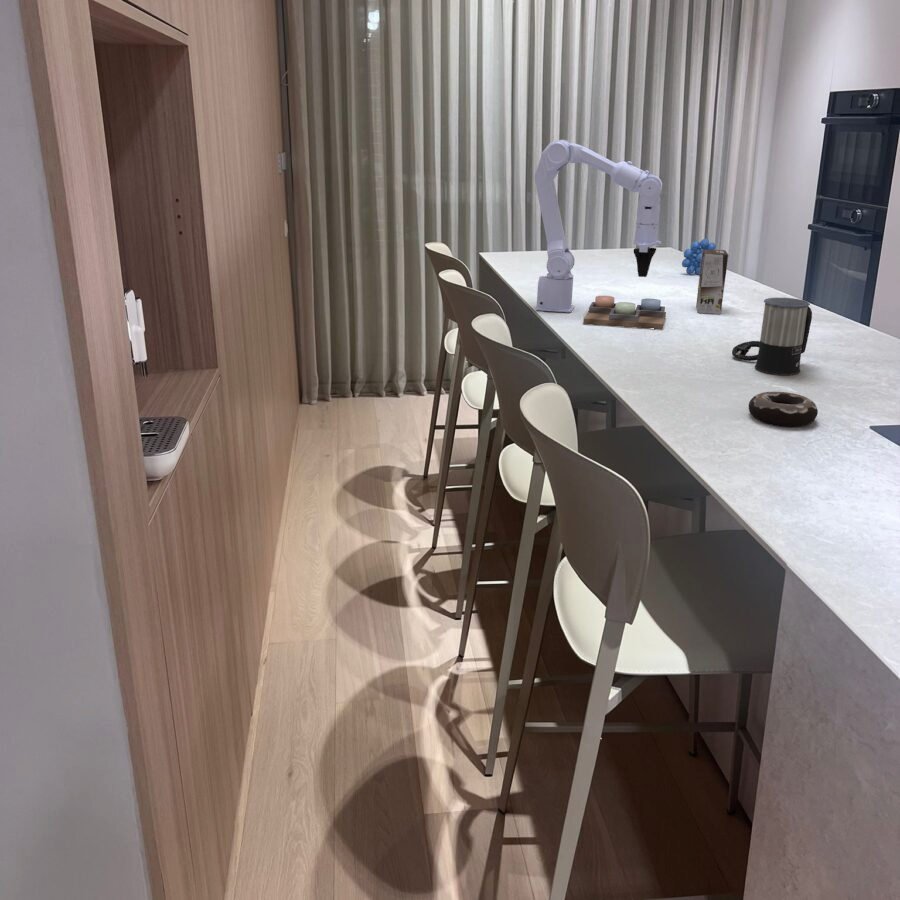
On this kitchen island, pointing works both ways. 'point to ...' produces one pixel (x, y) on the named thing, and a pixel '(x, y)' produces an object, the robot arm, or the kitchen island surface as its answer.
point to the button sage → (625, 308)
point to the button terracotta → (604, 301)
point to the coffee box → (711, 281)
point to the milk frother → (780, 337)
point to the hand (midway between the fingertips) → (642, 276)
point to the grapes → (696, 255)
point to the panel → (625, 317)
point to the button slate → (650, 304)
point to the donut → (783, 409)
